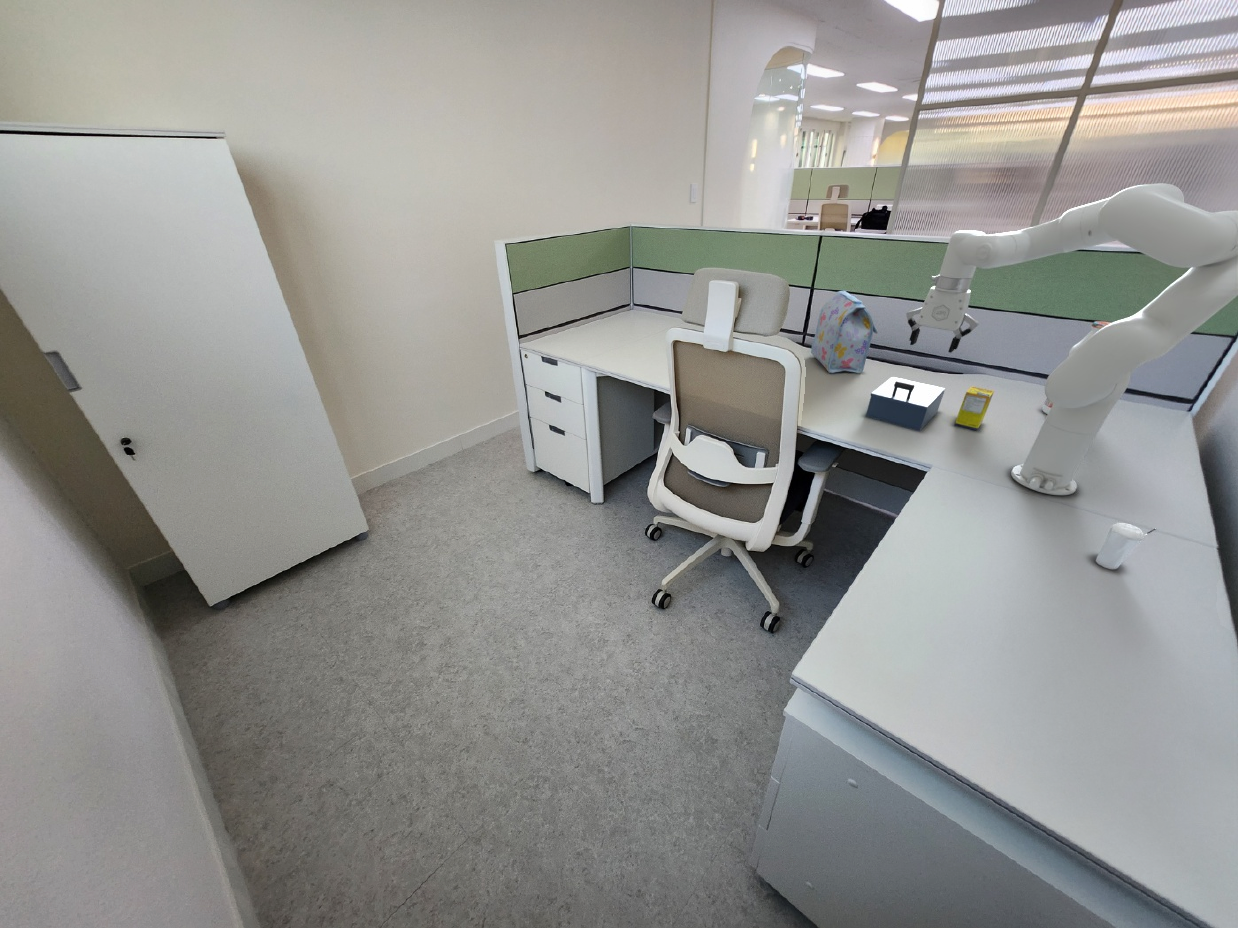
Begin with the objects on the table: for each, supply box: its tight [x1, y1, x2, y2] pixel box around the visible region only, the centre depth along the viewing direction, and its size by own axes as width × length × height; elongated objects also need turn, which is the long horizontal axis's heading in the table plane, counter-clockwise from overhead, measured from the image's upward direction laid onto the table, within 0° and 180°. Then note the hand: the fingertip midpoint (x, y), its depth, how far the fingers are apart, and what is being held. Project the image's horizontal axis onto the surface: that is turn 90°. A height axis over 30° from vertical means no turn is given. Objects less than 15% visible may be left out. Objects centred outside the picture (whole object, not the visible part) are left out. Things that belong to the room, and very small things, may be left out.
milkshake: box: [1095, 522, 1157, 570], centre depth 91 cm, size 4×5×10 cm
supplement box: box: [954, 385, 995, 432], centre depth 142 cm, size 6×6×11 cm
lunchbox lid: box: [870, 376, 946, 409], centre depth 146 cm, size 18×16×5 cm
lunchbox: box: [865, 391, 945, 432], centre depth 150 cm, size 18×16×7 cm
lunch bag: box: [810, 290, 879, 374], centre depth 185 cm, size 22×17×26 cm
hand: (931, 347), depth 134 cm, fingers open, 9 cm apart
